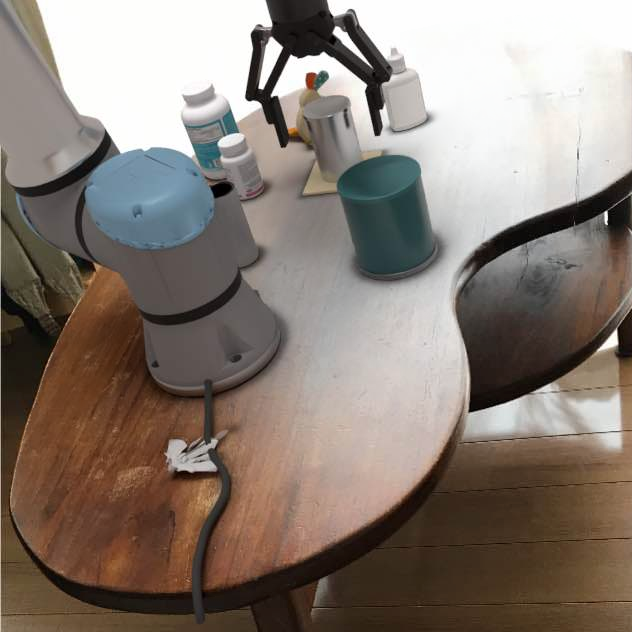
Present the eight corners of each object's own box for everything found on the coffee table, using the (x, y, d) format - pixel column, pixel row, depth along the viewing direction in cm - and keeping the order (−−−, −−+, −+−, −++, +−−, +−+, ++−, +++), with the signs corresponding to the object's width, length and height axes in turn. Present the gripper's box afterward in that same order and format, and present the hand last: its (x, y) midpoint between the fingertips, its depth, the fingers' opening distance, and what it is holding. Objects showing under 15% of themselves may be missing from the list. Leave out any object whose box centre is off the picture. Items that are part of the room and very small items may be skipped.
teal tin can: (433, 276, 102) (415, 194, 95) (350, 283, 104) (327, 204, 97) (441, 228, 109) (426, 149, 102) (364, 236, 112) (344, 159, 105)
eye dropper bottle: (425, 128, 131) (410, 50, 123) (389, 133, 132) (371, 56, 125) (428, 114, 134) (414, 38, 126) (393, 119, 135) (376, 44, 128)
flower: (208, 424, 92) (202, 404, 91) (255, 454, 87) (250, 433, 86) (148, 461, 88) (141, 440, 87) (194, 495, 83) (188, 473, 82)
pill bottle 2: (267, 181, 129) (250, 129, 124) (261, 198, 126) (243, 145, 120) (237, 186, 130) (218, 134, 125) (230, 202, 127) (211, 150, 121)
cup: (362, 180, 122) (345, 114, 116) (315, 186, 124) (296, 121, 118) (369, 156, 127) (354, 91, 121) (325, 162, 129) (307, 98, 123)
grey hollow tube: (253, 267, 112) (227, 198, 105) (221, 269, 113) (194, 201, 107) (263, 247, 115) (238, 178, 109) (231, 249, 117) (206, 182, 110)
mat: (371, 188, 121) (370, 185, 120) (303, 196, 123) (302, 193, 123) (382, 152, 128) (381, 150, 128) (317, 160, 131) (316, 158, 130)
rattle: (327, 120, 141) (308, 51, 133) (347, 136, 134) (329, 65, 127) (285, 137, 139) (264, 68, 132) (303, 155, 133) (282, 83, 126)
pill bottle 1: (229, 153, 139) (201, 72, 131) (259, 161, 135) (231, 78, 126) (194, 176, 136) (162, 95, 128) (223, 185, 131) (192, 102, 123)
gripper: (393, -46, 108) (422, 114, 121) (208, -13, 115) (255, 135, 128) (384, -26, 102) (416, 139, 116) (190, 8, 109) (241, 160, 122)
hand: (331, 137), depth 122 cm, fingers open, 13 cm apart
